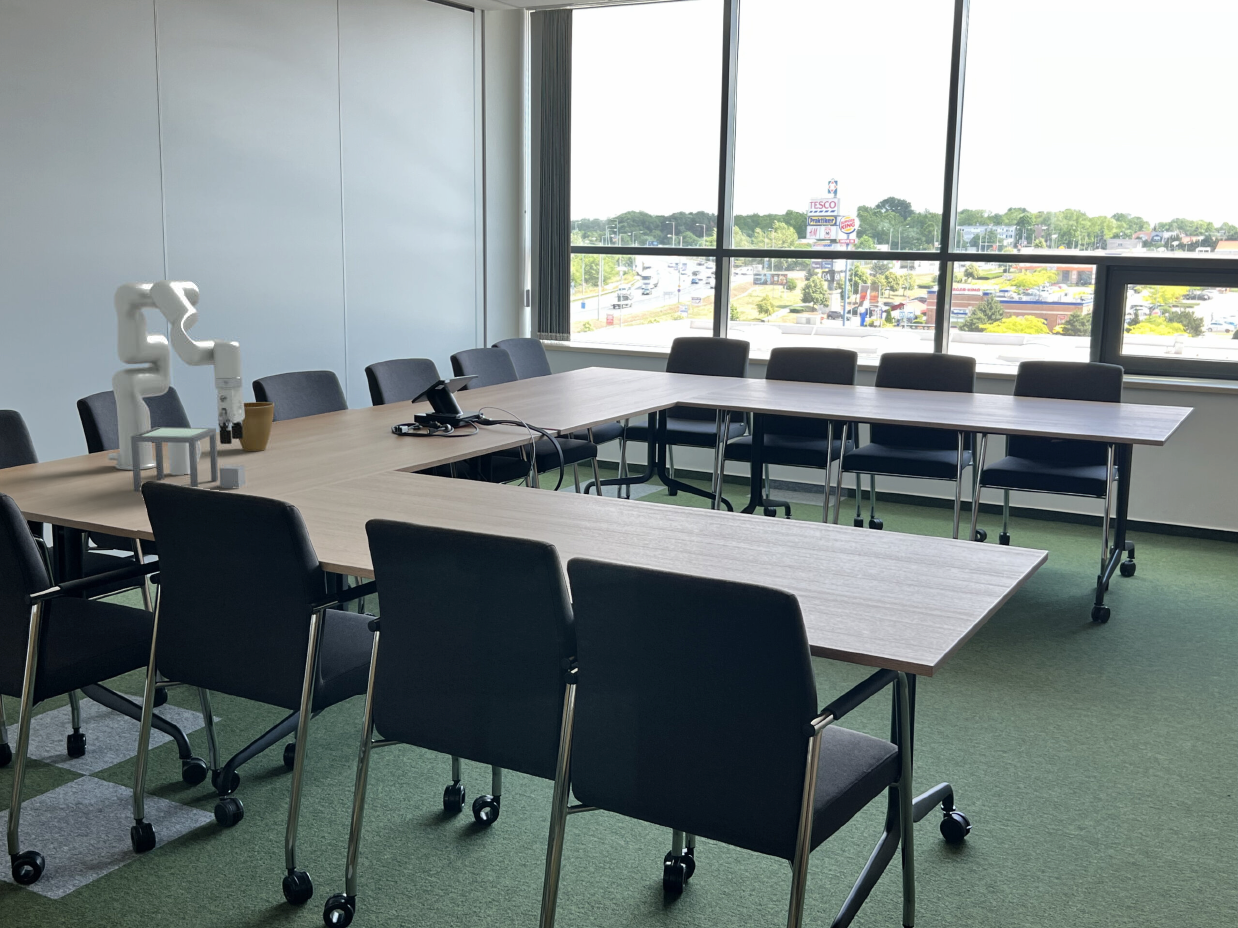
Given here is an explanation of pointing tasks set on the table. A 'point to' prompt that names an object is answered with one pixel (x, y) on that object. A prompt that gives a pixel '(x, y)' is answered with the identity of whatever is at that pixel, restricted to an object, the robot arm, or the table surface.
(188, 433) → the trapdoor
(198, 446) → the mug
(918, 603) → the table surface
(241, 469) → the grey cube
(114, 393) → the robot arm
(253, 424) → the plant pot
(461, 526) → the table surface
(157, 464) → the stand
